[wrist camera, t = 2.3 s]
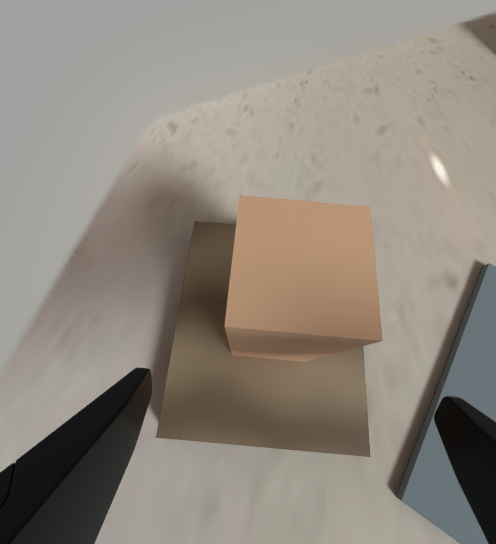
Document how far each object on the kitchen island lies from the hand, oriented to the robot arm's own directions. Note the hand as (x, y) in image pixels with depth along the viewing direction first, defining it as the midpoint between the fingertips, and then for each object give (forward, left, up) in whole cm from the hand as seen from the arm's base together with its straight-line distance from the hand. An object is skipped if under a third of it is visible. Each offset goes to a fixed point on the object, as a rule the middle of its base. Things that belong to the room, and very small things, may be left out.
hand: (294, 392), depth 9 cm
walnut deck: (+3, +2, -11) cm, 11 cm away
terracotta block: (+3, +2, -9) cm, 9 cm away
